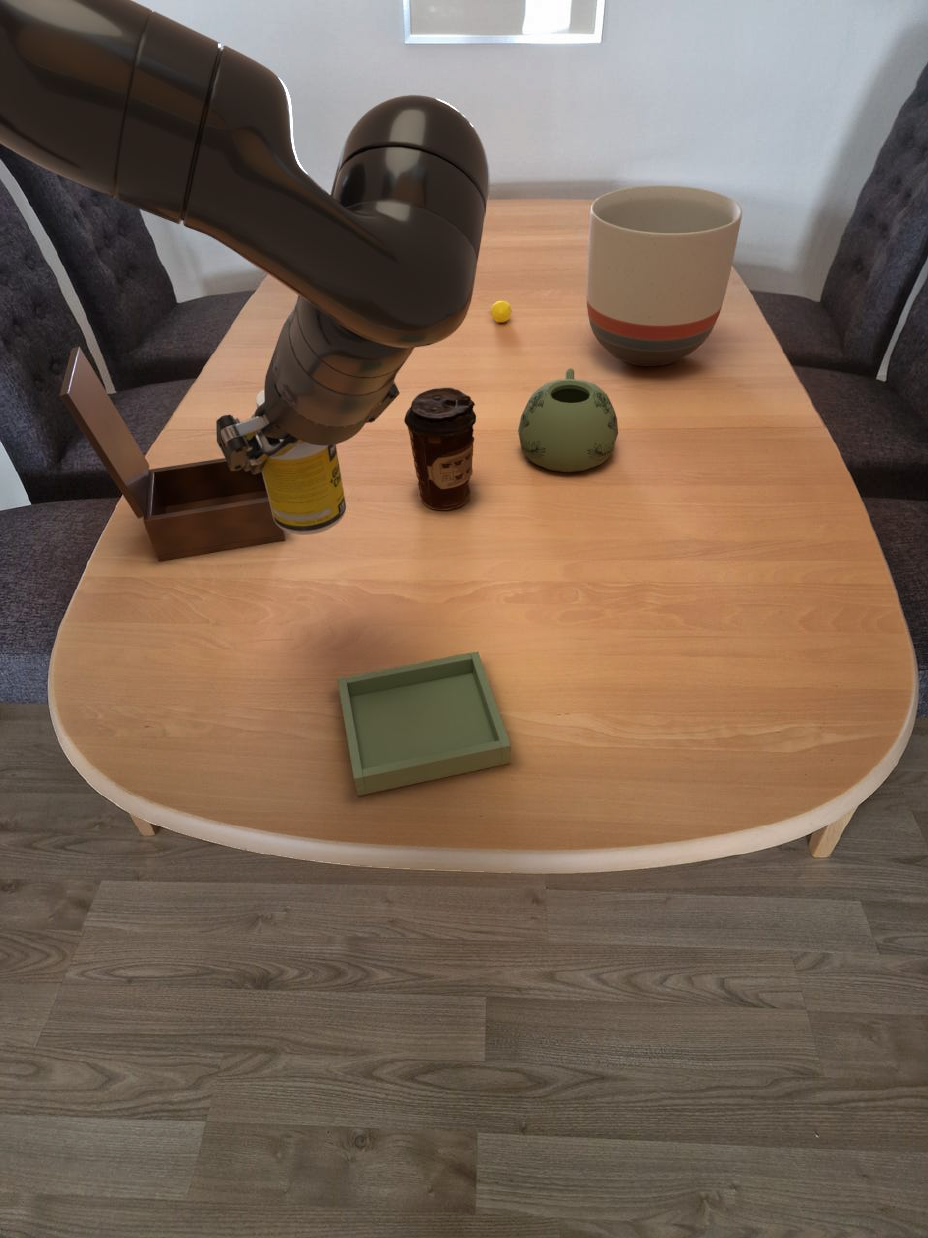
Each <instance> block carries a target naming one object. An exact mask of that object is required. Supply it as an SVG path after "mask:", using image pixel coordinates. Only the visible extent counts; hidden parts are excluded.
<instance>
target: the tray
mask: <svg viewBox="0 0 928 1238" xmlns="http://www.w3.org/2000/svg"><path fill="white" fill-rule="evenodd" d="M336 681H337V687H338V692H339V697H340V704H341V709H342V716H343V722H344V728H345V729H344V730H345V735H346V741H347V745H348V753H349V758H350V765H351V770H352V777H353V783H354V787H355V790H356V795H357V797H360V796H365V795H370V794H374V793H379V792H383V791H388V790H392V789H397V788H402V787H406V786H411V785H415V784H421V783H423V782H424V783H426V782H430V781H434V780H439V779H443V778H447V777H452V776H453V777H454V776H458V775H461V774H467V773H472V772H475V771H480V770H485V769H489V768H494V767H499V766H503V765H507V764H511V751H512V749H511V748H512V747H511V746H512V745H511V741H510V740H509V737H508V733H507V730H506V728H505V725H504V722H503V719H502V717H501V714H500V710H499V707H498V705H497V702H496V699H495V696H494V693H493V690H492V688H491V684H490V681H489V679H488V676H487V672H486V670H485V667H484V664H483V661H482V658H481V656H480V652H479V651H473V652H468V653H463V654H458V655H453V656H448V657H447V656H446V657H441V658H436V659H432V660H428V661H421V662H417V663H416V662H415V663H412V664H406V665H401V666H397V667H391V668H385V669H380V670H376V671H370V672H365V673H360V674H356V675H350V676H344V677H338V678H337V680H336Z"/></svg>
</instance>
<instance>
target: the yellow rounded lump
mask: <svg viewBox="0 0 928 1238" xmlns="http://www.w3.org/2000/svg"><path fill="white" fill-rule="evenodd" d="M512 312H513V310H512V307H511V304H510V303H509V302H507V301H506V300H497V301H495V302H494V303H493V304H492V305H491V308H490V314H491V317H492V319H493V320H494V321H495V322H497V323H505V322H507V321H509V319H511V315H512Z"/></svg>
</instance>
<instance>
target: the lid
mask: <svg viewBox="0 0 928 1238" xmlns="http://www.w3.org/2000/svg"><path fill="white" fill-rule="evenodd" d="M59 398H60V399H61V401H62V402H63V404H64V405H65V408H66V409H67V410H68V412H69V413H70V415H71V417H72V418H73V419H74V421H75V422H76V424H77V426H78V427H79V429H80V431H81V432H82V433H83V436H84V437H85V438H86V440H87V442H88V444H89V445H90V446H91V448H92V449H93V450H94V452H95V454H96V455H97V457H98V459H99V460H100V462H101V463H102V465H103V467H104V468H105V469H106V471H107V473H108V474H109V476H110V477H111V479H112V480H113V483H114V484H115V485H116V487H117V488H118V490H119V491H120V493H121V495H122V497H123V498H124V500H125V501H126V502H127V504H128V505H129V507H130V509H131V510H132V512H133V513H134V515H135V516H136V518H137V519H143V518H144V517H145V511H146V499H147V487H148V475H149V470H150V463H149V462H148V460H147V458H146V456H145V455H144V454H143V452H142V450H141V448H140V446H139V445H138V443H137V442H136V439H135V438H134V436H133V435H132V432H131V431H130V429H129V428H128V425H126V423H125V422H124V421H125V420H124V419H123V418H122V416H121V414H120V412H119V411H118V409H117V407H116V406H115V404H114V402H113V401H112V399H111V397H110V396H109V394H108V393H107V390H106V389H105V387H104V386H103V384H102V382H101V381H100V379H99V377H98V375H97V373H96V372H95V371H94V369H93V367H92V365H91V363H90V362H89V360H88V358H87V357H86V355H85V353H84V352H83V350H82V348H81V347H80V346H76V347H73V348H71V351H70V355H69V358H68V362H67V365H66V369H65V374H64V378H63V381H62V385H61V390H60V393H59Z"/></svg>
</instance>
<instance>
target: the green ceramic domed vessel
mask: <svg viewBox="0 0 928 1238" xmlns="http://www.w3.org/2000/svg"><path fill="white" fill-rule="evenodd" d="M519 420H520V421H519V425H518V428H517V432H518V437H519V444H520V448H521V451H522V454H523V455H524V456H525V457H526V458H527V459H528V460H530V461H531V462H532V463H533V464H536V465H537V466H539V467H542V468H544V469H547V470H549V471H554V472H561V473H575V472H584V471H586V470H589V469H592V468H594V467H597V466H599V465H602V464H603V463H604V462H606V461H607V460H608V459H609V458H610V457H611V456H612V454H613V451H614V448H615V445H616V442H617V437H619V427H618V426H619V425H618V418H617V414H616V411H615V408H614V406H613V404H612V402H611V400H610V398H609V395H608V393H606V392H605V391H604V390H603V389H602V388H600V387H599V386H597V384H595V383H592V382H590V381H587V380H583V379H575V369H573V368H572V367H570V368H567V369H566V371H565V379H564V378H563V379H556V380H552V381H549V382H546V383H545V384H543V385H542V386H540V387H539V388H538V389H536V390H535V391H533V392H532V394H531V396H530V397H529V399H528V401H527V403H526V405H525V407H524V409H523V411H522V414H521V416H520V419H519Z"/></svg>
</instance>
